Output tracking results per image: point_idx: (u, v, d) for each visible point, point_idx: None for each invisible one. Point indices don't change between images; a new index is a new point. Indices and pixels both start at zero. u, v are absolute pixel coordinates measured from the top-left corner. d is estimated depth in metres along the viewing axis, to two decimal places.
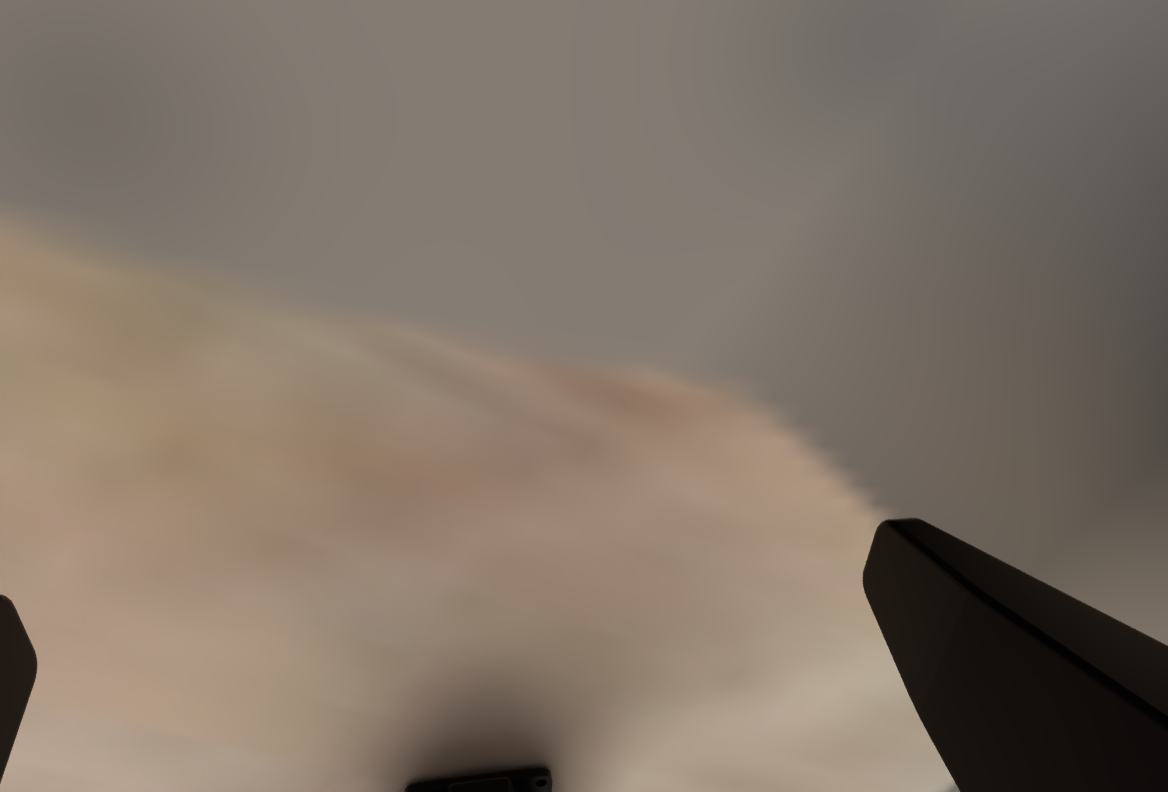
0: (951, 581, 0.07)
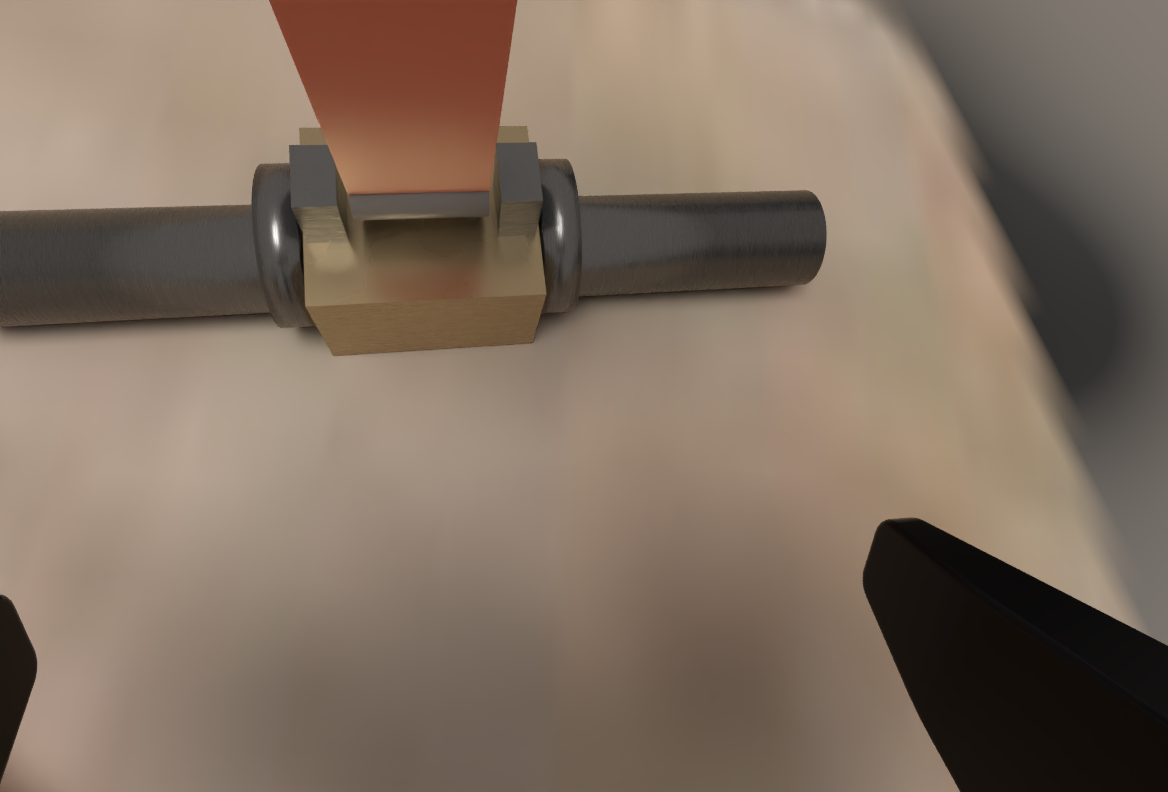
0: (951, 581, 0.07)
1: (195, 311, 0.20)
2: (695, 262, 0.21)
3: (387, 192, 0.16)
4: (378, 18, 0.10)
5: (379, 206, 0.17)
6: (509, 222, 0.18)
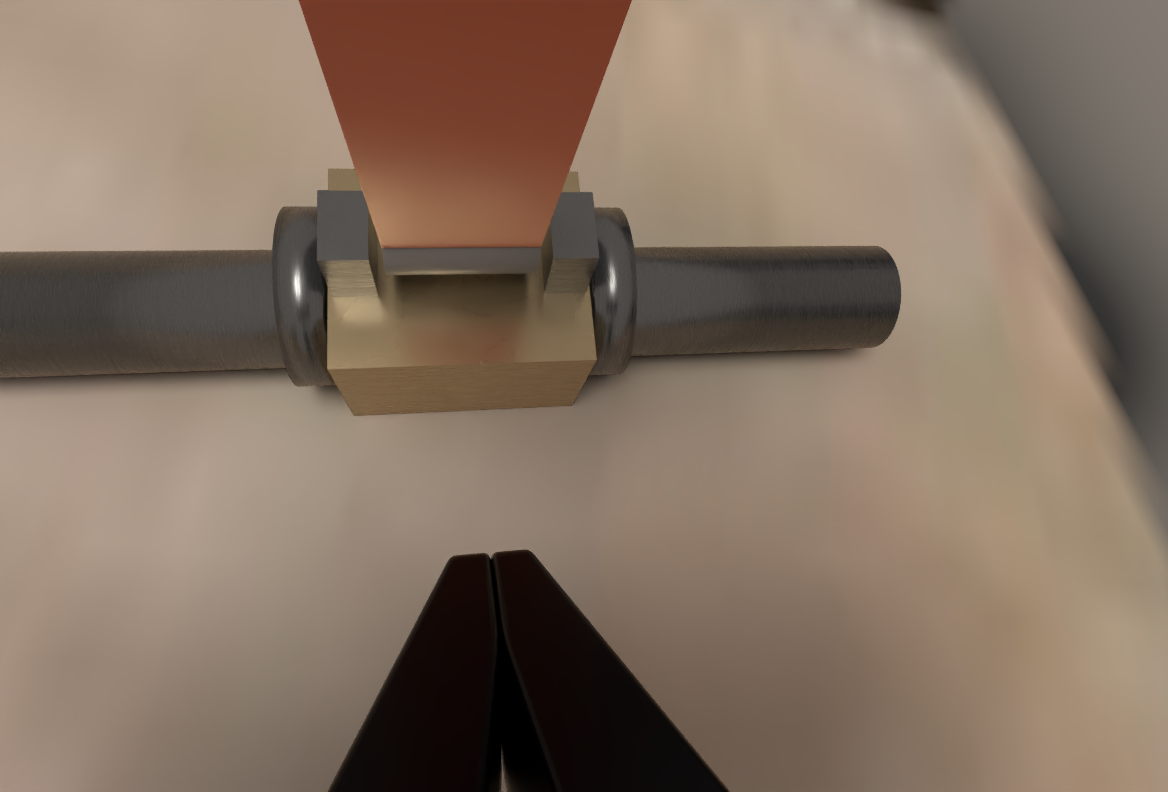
0: (499, 627, 0.06)
1: (204, 366, 0.18)
2: (756, 323, 0.19)
3: (426, 246, 0.14)
4: (442, 57, 0.08)
5: (416, 261, 0.15)
6: (558, 279, 0.16)
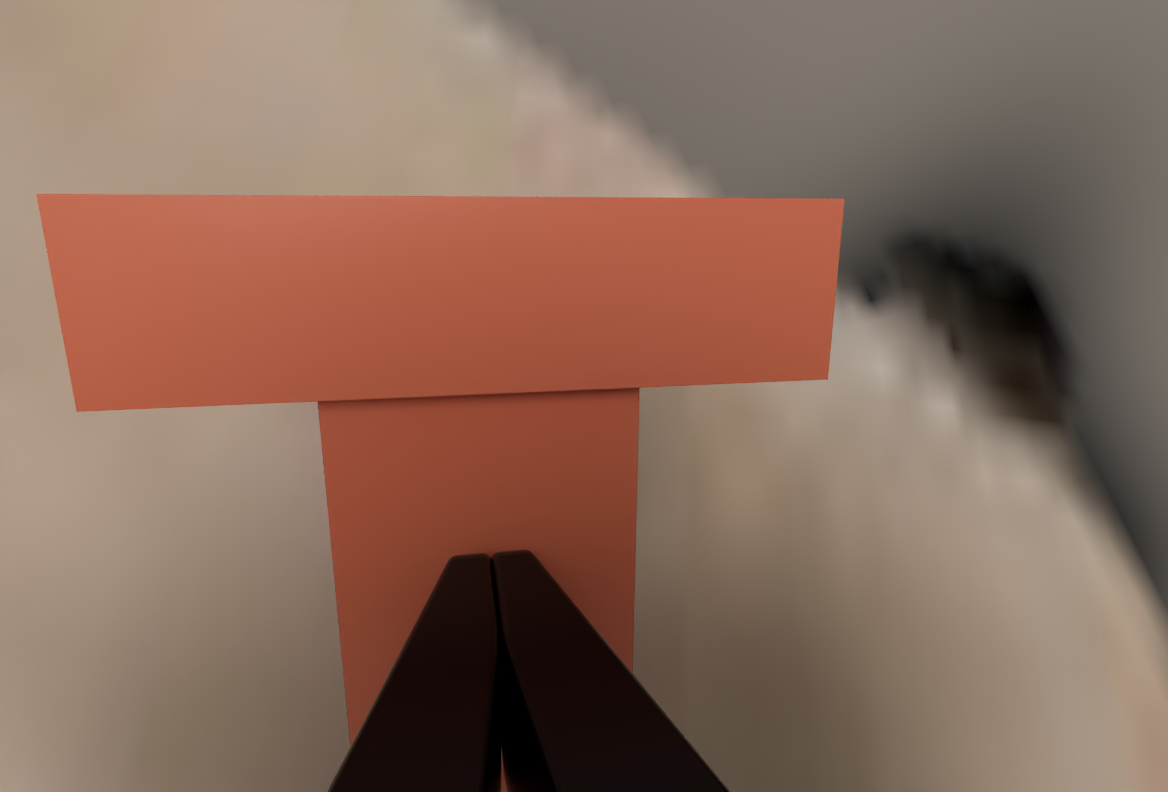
0: (499, 627, 0.06)
1: None
2: None
3: None
4: None
5: None
6: None
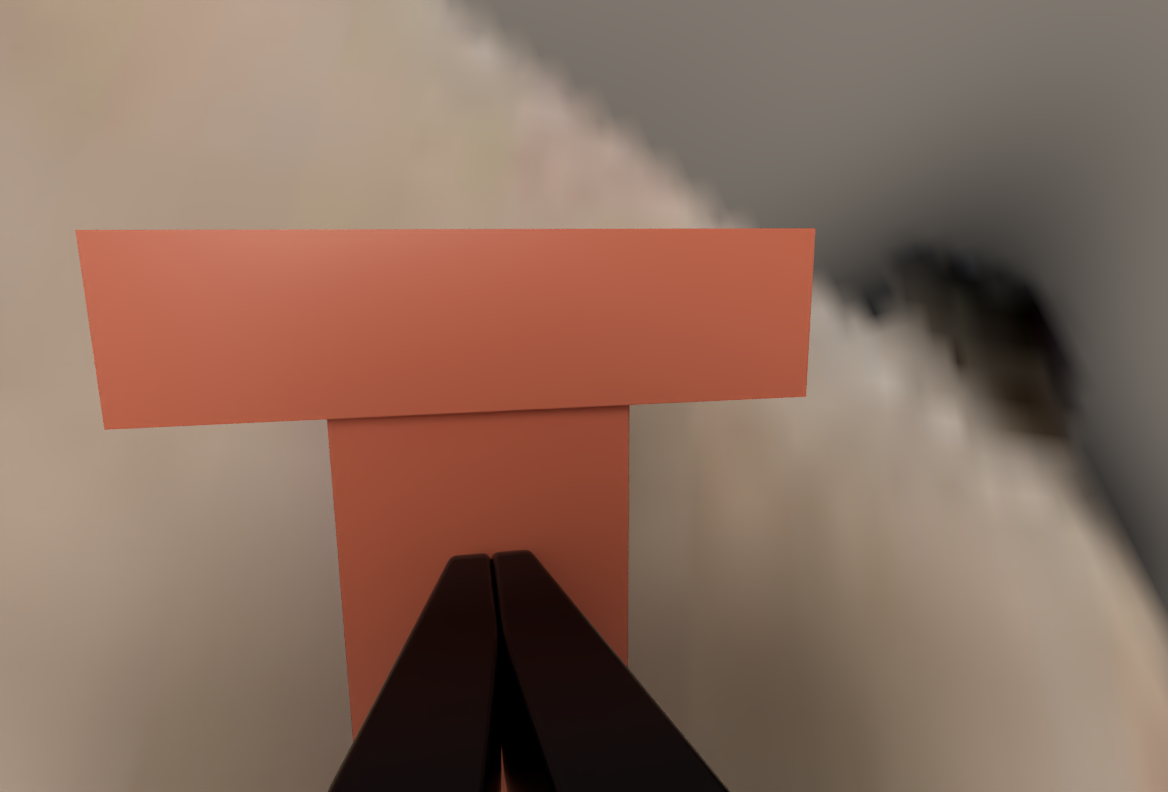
0: (499, 627, 0.06)
1: None
2: None
3: None
4: None
5: None
6: None
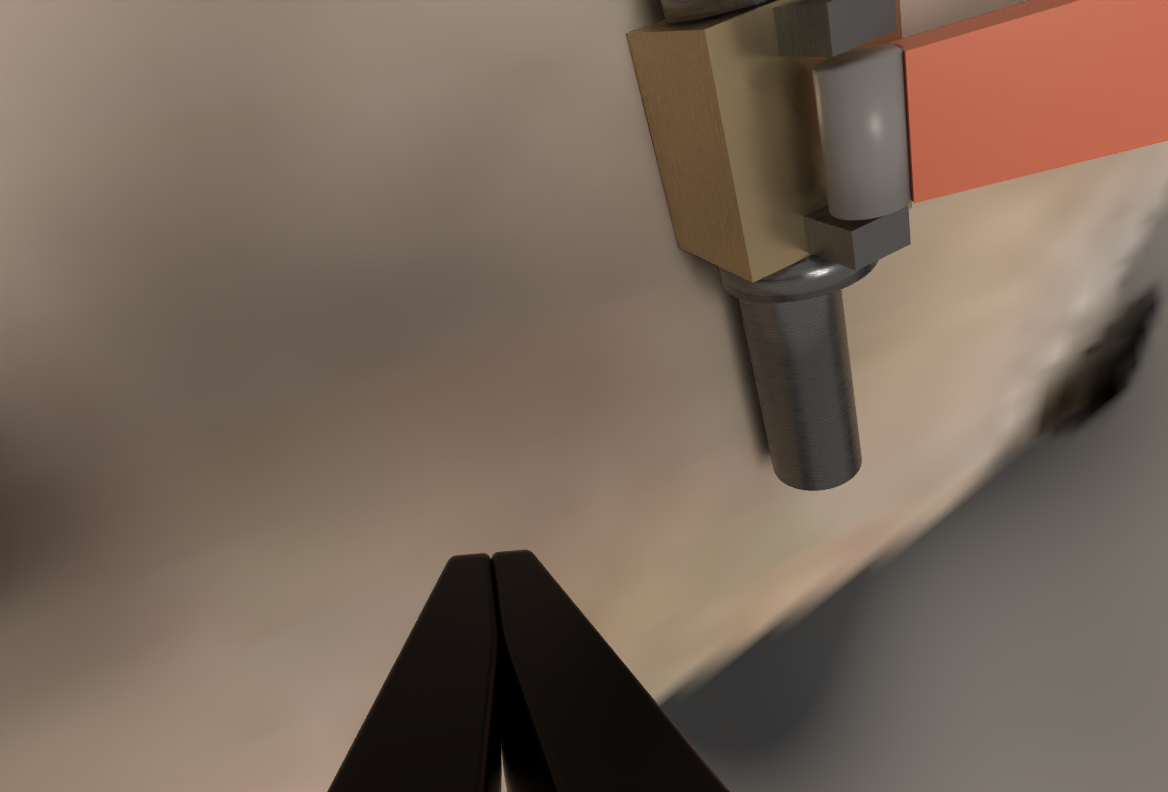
0: (499, 627, 0.06)
1: None
2: (789, 389, 0.22)
3: (915, 94, 0.15)
4: None
5: (892, 91, 0.15)
6: (823, 231, 0.17)
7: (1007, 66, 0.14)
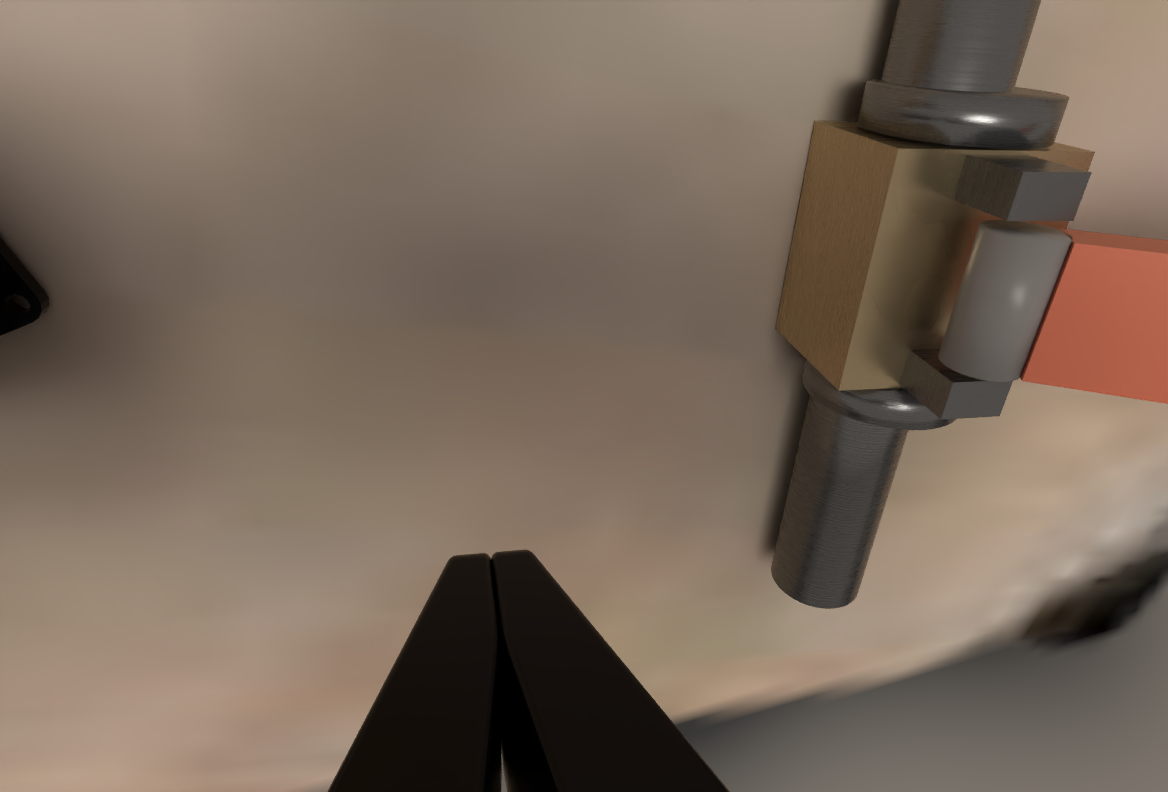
0: (499, 627, 0.06)
1: None
2: (822, 501, 0.22)
3: (1066, 285, 0.15)
4: None
5: (1047, 274, 0.15)
6: (923, 371, 0.18)
7: (1161, 294, 0.15)
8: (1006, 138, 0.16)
